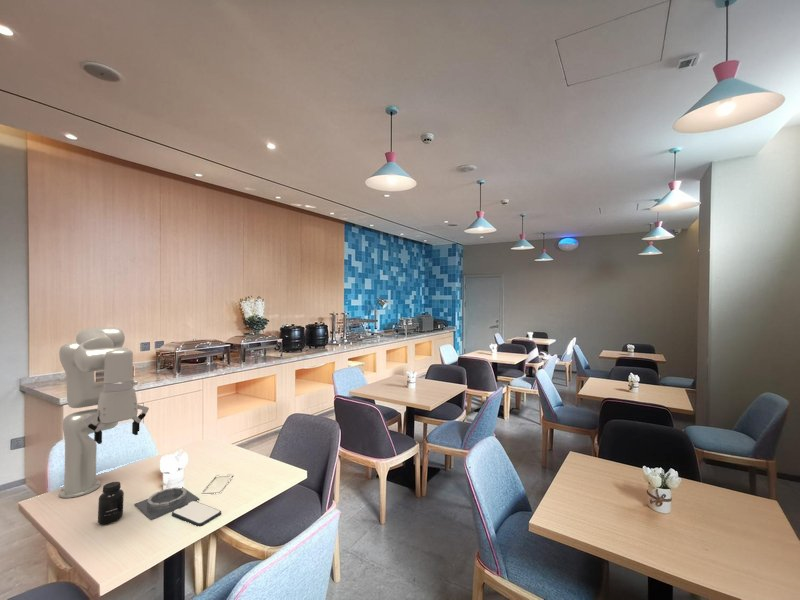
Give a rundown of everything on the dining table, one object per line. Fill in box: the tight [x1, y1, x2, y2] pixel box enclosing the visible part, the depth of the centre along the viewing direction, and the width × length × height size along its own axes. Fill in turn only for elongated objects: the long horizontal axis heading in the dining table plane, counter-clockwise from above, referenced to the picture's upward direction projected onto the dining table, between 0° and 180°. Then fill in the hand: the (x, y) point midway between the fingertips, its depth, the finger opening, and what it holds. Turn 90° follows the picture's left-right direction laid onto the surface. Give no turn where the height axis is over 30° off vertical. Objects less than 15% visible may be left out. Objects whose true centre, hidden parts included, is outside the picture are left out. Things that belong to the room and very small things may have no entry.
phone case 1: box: [171, 501, 222, 527], centre depth 125 cm, size 9×2×16 cm
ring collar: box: [134, 486, 200, 521], centre depth 133 cm, size 16×16×3 cm
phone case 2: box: [200, 473, 234, 495], centre depth 146 cm, size 7×1×15 cm
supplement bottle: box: [97, 481, 125, 526], centre depth 122 cm, size 7×7×12 cm
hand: (117, 438), depth 117 cm, fingers open, 9 cm apart
